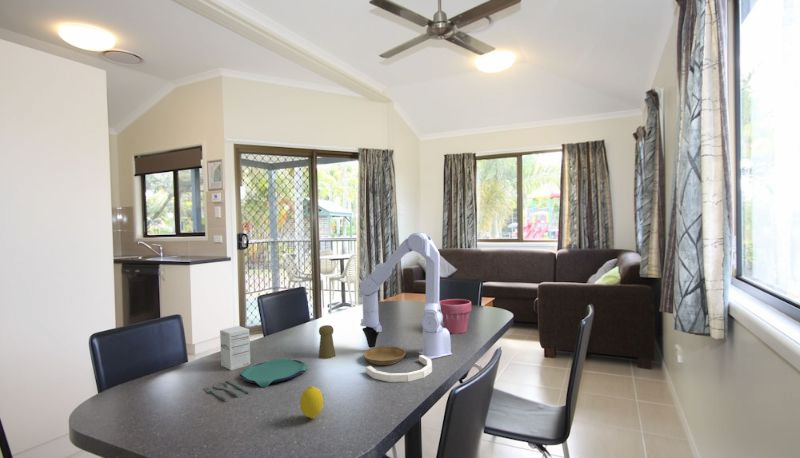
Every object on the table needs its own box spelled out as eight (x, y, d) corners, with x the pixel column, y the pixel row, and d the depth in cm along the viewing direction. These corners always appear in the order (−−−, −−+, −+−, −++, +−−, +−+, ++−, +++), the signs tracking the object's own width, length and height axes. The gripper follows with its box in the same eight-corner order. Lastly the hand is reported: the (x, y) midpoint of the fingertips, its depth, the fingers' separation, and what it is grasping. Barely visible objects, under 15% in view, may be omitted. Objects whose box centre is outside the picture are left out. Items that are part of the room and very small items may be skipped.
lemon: (302, 414, 102) (301, 382, 102) (324, 412, 103) (323, 381, 103) (299, 424, 97) (297, 391, 97) (322, 423, 97) (321, 390, 97)
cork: (331, 359, 144) (330, 328, 143) (315, 358, 145) (314, 327, 145) (337, 353, 150) (336, 324, 149) (322, 353, 151) (321, 323, 151)
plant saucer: (407, 353, 148) (407, 346, 148) (403, 368, 133) (403, 360, 133) (367, 353, 150) (367, 346, 150) (359, 367, 135) (359, 360, 135)
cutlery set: (318, 372, 131) (317, 365, 131) (226, 407, 109) (225, 398, 109) (285, 360, 145) (284, 354, 145) (197, 389, 123) (196, 381, 123)
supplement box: (220, 366, 140) (219, 329, 140) (241, 360, 145) (240, 325, 145) (230, 371, 135) (228, 333, 135) (251, 364, 140) (249, 328, 140)
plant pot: (440, 326, 183) (439, 298, 183) (471, 326, 182) (470, 298, 181) (438, 335, 169) (437, 305, 169) (472, 335, 167) (472, 304, 167)
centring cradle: (422, 360, 139) (422, 354, 139) (444, 372, 128) (444, 366, 127) (366, 372, 129) (366, 366, 129) (384, 387, 118) (384, 380, 118)
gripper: (353, 308, 155) (354, 343, 156) (368, 315, 143) (369, 354, 143) (370, 306, 159) (371, 340, 159) (386, 313, 146) (387, 350, 146)
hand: (371, 346), depth 151 cm, fingers closed
